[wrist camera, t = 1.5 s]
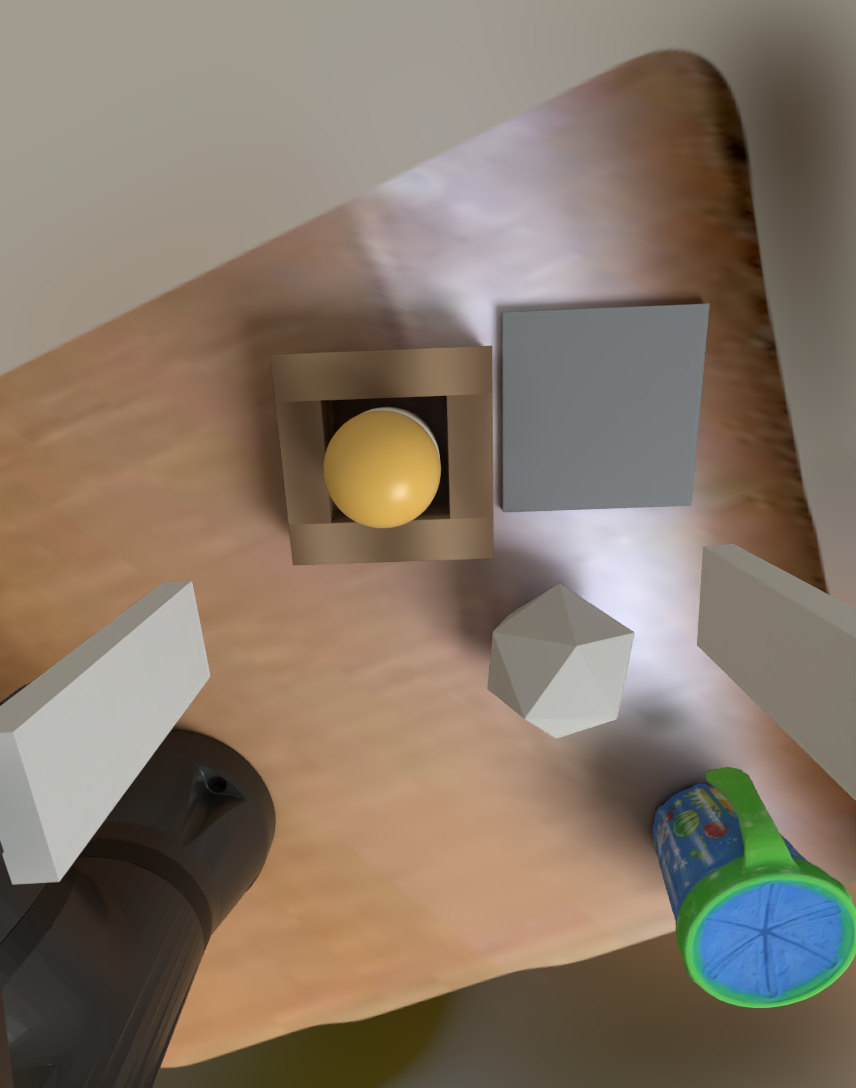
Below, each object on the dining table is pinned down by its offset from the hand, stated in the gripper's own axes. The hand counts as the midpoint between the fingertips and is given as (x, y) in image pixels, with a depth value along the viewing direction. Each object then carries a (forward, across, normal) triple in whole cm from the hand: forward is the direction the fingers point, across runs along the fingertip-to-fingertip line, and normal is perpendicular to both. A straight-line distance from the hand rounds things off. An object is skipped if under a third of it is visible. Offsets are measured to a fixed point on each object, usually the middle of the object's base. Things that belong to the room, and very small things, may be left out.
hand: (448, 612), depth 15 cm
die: (+23, +7, -12) cm, 27 cm away
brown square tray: (+23, -3, +2) cm, 23 cm away
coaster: (+23, +10, +3) cm, 25 cm away
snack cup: (+23, +18, -28) cm, 41 cm away
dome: (+20, -3, +2) cm, 20 cm away
